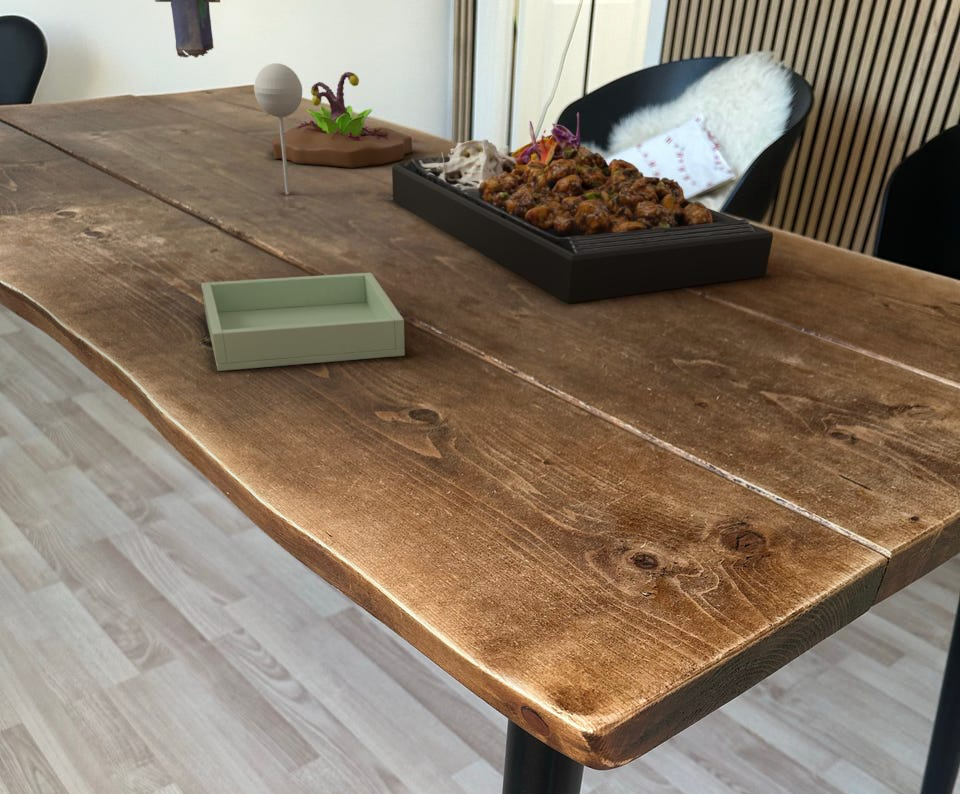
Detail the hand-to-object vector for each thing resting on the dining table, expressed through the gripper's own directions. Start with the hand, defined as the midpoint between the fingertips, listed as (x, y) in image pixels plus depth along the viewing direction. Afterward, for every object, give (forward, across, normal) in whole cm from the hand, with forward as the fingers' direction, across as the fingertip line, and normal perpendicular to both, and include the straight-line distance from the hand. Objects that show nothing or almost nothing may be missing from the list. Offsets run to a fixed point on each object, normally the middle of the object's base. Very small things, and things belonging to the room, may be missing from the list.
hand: (188, 1), depth 90 cm
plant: (+23, +23, +52) cm, 62 cm away
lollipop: (+23, +11, +28) cm, 38 cm away
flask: (+4, 0, +1) cm, 4 cm away
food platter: (+23, +40, +1) cm, 46 cm away
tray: (+23, +5, -26) cm, 35 cm away
